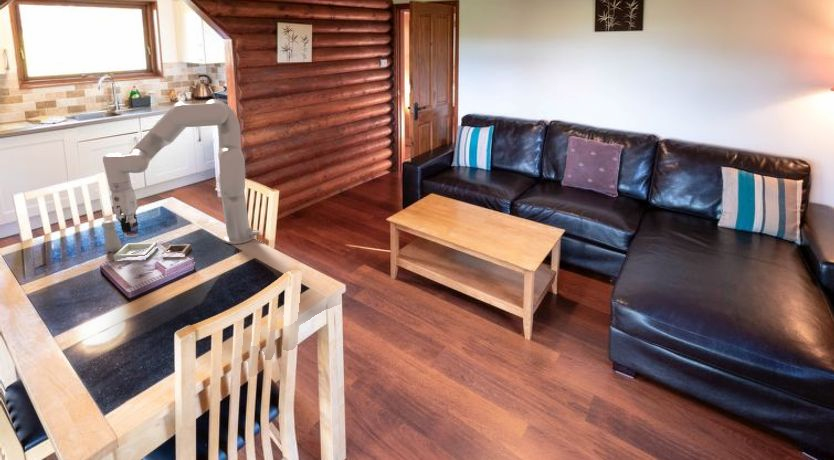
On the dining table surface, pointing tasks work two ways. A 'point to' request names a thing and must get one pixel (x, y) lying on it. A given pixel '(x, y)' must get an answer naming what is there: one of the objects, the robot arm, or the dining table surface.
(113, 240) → the salt shaker
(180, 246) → the beige square dish
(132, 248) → the tray
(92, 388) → the dining table surface
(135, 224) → the pill bottle
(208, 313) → the dining table surface
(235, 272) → the dining table surface
